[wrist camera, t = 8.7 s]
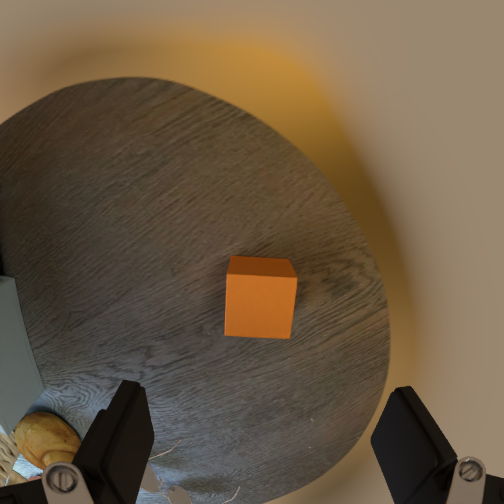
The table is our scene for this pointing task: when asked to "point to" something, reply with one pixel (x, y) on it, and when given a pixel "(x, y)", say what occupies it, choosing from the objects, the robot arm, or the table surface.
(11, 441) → the basket
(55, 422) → the bread roll
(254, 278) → the orange wooden block
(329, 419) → the table surface
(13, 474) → the hand bell
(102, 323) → the table surface
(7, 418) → the blue drawer cabinet
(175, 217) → the table surface
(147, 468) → the sunglasses
